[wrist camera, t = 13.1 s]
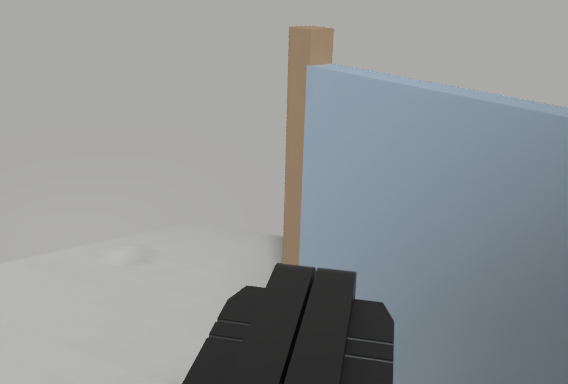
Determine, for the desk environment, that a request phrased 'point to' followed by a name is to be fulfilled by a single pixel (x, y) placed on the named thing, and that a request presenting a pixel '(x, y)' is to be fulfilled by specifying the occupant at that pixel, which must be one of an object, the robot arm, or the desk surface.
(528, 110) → the fence panel
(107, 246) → the desk surface
